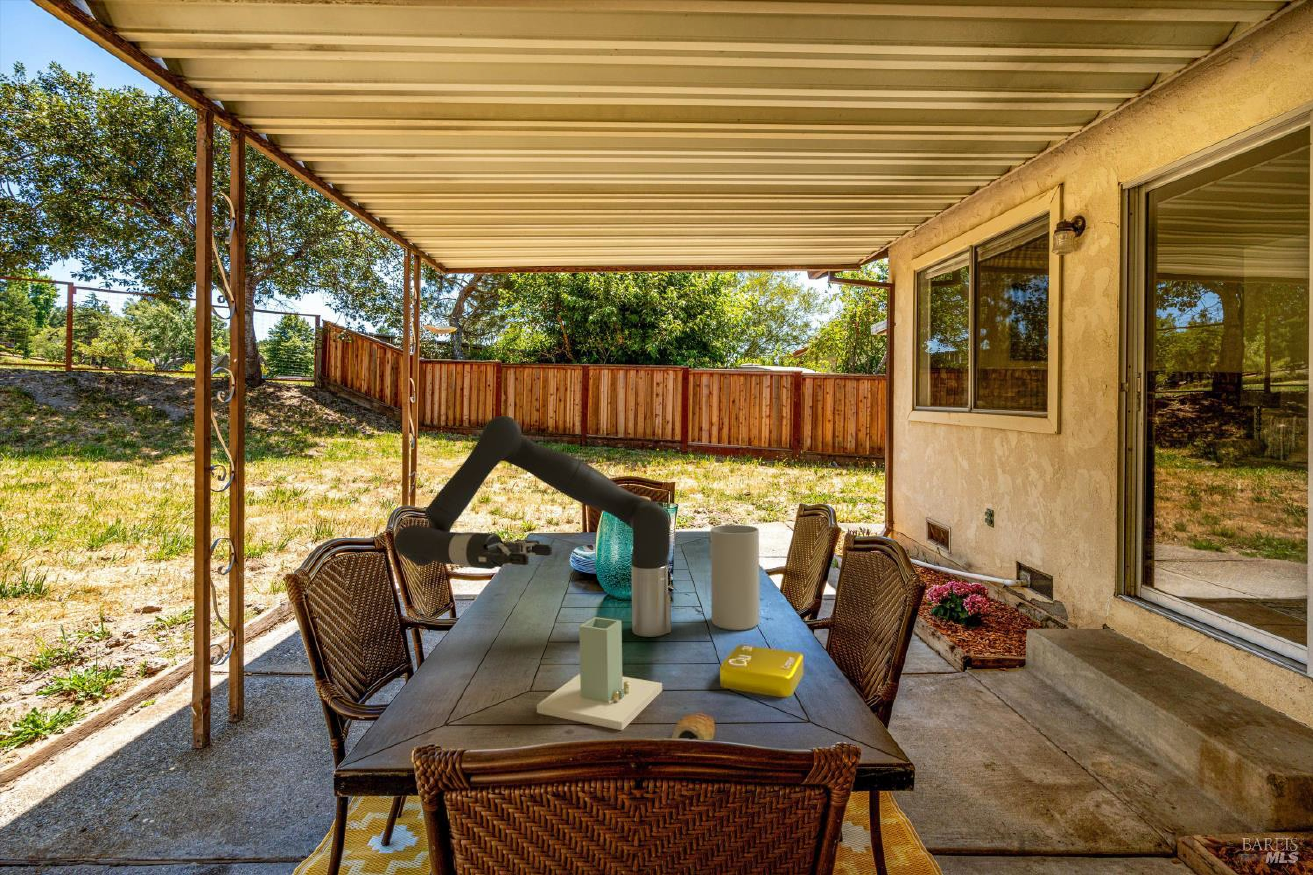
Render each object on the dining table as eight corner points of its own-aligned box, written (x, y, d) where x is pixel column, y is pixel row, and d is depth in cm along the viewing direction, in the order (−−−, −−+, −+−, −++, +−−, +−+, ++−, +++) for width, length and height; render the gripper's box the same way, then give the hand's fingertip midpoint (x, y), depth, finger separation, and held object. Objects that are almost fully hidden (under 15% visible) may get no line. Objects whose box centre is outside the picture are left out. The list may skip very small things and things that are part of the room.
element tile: (790, 700, 131) (790, 676, 131) (717, 688, 137) (717, 665, 137) (805, 672, 145) (805, 650, 145) (738, 662, 151) (738, 641, 151)
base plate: (536, 712, 126) (535, 665, 126) (584, 676, 143) (583, 634, 142) (622, 730, 119) (621, 680, 119) (662, 690, 135) (661, 646, 135)
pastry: (687, 721, 123) (687, 701, 122) (723, 727, 120) (723, 707, 120) (669, 745, 114) (669, 724, 114) (707, 753, 111) (707, 731, 111)
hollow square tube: (580, 697, 129) (579, 626, 128) (595, 685, 135) (594, 617, 134) (615, 704, 126) (614, 631, 125) (629, 691, 132) (628, 621, 131)
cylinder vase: (705, 627, 173) (704, 532, 172) (719, 613, 185) (718, 523, 183) (752, 633, 168) (752, 535, 167) (764, 618, 180) (763, 526, 179)
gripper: (453, 539, 138) (518, 543, 131) (495, 526, 151) (557, 530, 144) (454, 575, 138) (520, 581, 132) (497, 559, 151) (558, 564, 145)
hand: (539, 554), depth 138 cm, fingers open, 8 cm apart
